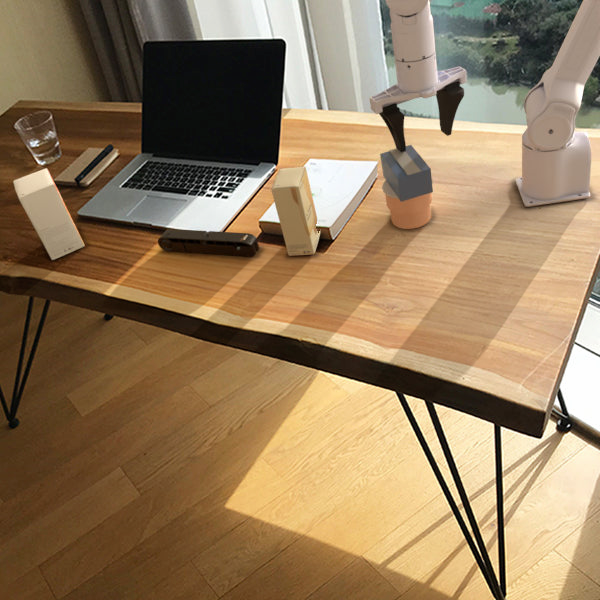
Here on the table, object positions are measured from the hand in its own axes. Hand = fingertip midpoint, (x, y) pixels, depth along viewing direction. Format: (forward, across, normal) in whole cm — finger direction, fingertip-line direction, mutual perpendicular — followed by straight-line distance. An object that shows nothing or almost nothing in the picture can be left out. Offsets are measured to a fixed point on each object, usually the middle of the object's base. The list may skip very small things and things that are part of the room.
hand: (423, 141), depth 104 cm
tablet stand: (+11, -36, +8) cm, 38 cm away
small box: (+11, -60, +27) cm, 66 cm away
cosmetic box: (+11, -22, 0) cm, 24 cm away
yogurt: (+10, -5, -3) cm, 12 cm away
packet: (+4, -5, -3) cm, 7 cm away
